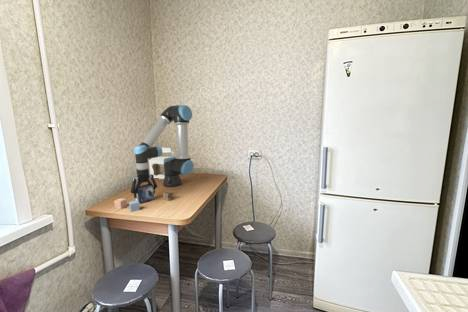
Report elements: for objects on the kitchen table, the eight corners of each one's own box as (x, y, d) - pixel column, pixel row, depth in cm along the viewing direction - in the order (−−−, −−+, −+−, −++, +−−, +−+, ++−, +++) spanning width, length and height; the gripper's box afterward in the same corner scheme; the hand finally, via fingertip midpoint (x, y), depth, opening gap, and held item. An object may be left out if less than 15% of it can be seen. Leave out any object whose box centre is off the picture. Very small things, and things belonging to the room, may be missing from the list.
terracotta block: (120, 205, 161) (120, 198, 160) (127, 206, 159) (126, 198, 158) (114, 208, 156) (114, 200, 155) (121, 209, 155) (120, 201, 154)
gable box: (178, 175, 236) (176, 146, 232) (172, 179, 224) (170, 148, 219) (156, 175, 240) (154, 146, 235) (150, 178, 227) (147, 148, 222)
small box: (140, 204, 162) (139, 188, 160) (135, 202, 166) (134, 187, 165) (154, 199, 170) (153, 185, 168) (149, 197, 174) (148, 183, 173)
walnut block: (169, 197, 173) (168, 191, 173) (173, 199, 171) (173, 192, 170) (163, 200, 169) (162, 193, 168) (168, 201, 167) (167, 194, 166)
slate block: (138, 207, 156) (137, 200, 156) (139, 210, 152) (139, 202, 151) (129, 209, 154) (129, 201, 153) (131, 212, 150) (130, 204, 149)
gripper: (155, 165, 175) (157, 194, 179) (122, 171, 159) (126, 203, 163) (161, 166, 170) (163, 196, 174) (127, 172, 154) (130, 206, 157)
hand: (145, 200), depth 168 cm, fingers closed on small box, 11 cm apart
